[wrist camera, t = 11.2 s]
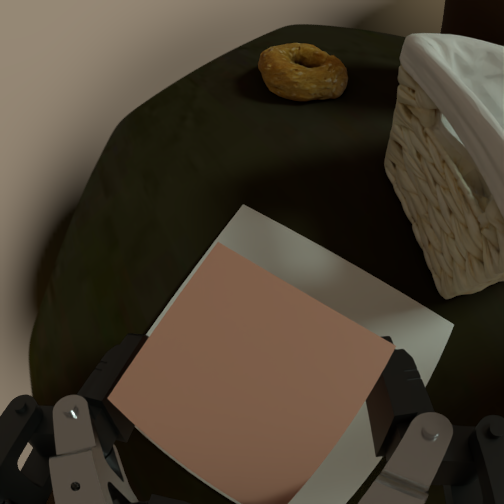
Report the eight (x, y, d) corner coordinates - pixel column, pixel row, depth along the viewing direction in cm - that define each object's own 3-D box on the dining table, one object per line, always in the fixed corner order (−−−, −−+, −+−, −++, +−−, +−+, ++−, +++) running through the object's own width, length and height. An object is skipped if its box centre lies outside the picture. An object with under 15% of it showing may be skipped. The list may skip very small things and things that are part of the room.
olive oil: (418, 93, 30) (450, -82, 8) (432, 64, 33) (457, -76, 10) (489, 133, 27) (553, -30, 4) (493, 97, 30) (536, -36, 7)
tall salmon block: (260, 317, 17) (218, 241, 8) (337, 364, 15) (396, 345, 6) (209, 390, 16) (107, 398, 6) (285, 440, 14) (271, 520, 5)
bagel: (322, 119, 30) (323, 84, 26) (243, 88, 34) (237, 57, 30) (360, 81, 32) (363, 50, 28) (289, 56, 36) (286, 28, 32)
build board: (244, 208, 27) (243, 204, 26) (449, 326, 20) (454, 324, 19) (108, 396, 21) (103, 396, 21) (309, 536, 15) (309, 541, 14)
